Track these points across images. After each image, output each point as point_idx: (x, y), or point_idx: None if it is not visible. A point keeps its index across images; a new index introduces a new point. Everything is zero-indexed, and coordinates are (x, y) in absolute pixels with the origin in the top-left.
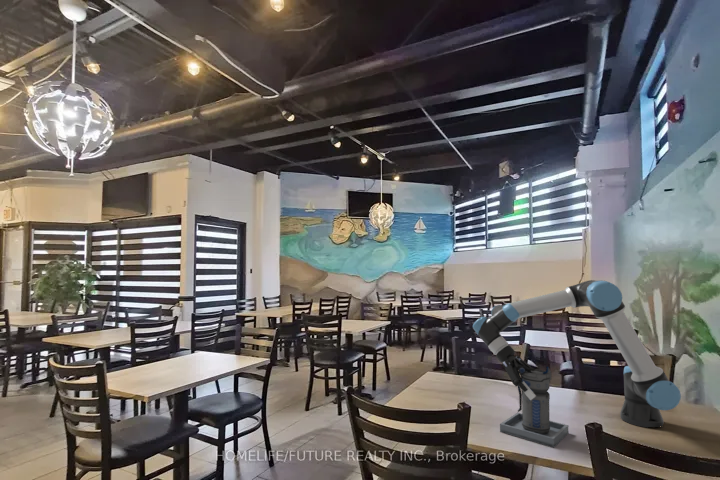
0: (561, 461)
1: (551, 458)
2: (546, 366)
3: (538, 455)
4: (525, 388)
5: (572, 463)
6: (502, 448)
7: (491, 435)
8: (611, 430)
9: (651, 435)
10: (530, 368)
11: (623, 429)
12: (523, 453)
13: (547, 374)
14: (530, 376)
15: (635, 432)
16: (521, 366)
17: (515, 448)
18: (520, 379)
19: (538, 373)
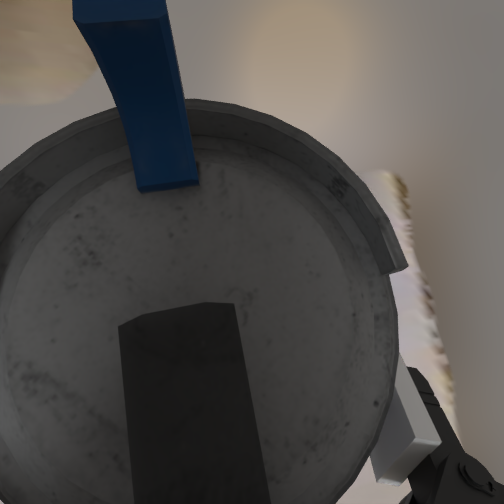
0: (405, 225)
1: (405, 251)
2: (100, 16)
3: (411, 288)
4: (425, 385)
5: (397, 198)
6: (442, 409)
7: (354, 488)
8: (47, 98)
9: (39, 8)
10: (225, 423)
11: (17, 66)
12: (429, 333)
13: (260, 112)
14: (394, 359)
15: (32, 40)
16: None
17: (410, 366)
18: (471, 496)
19: (194, 256)
